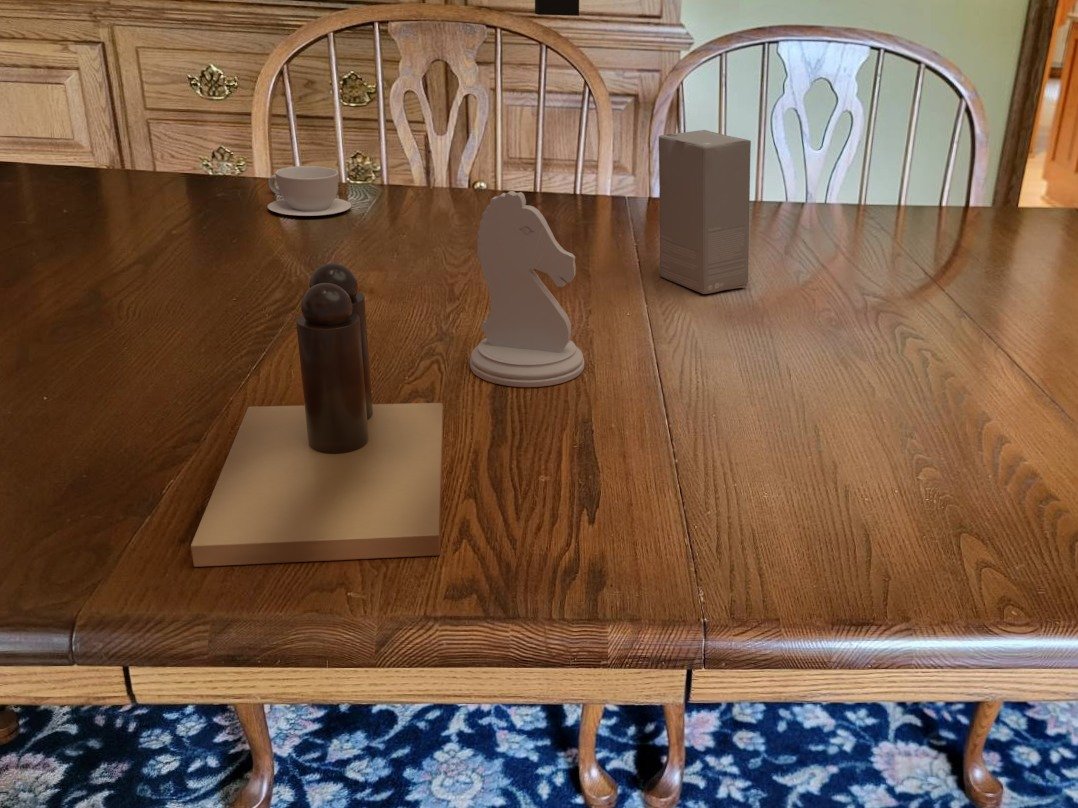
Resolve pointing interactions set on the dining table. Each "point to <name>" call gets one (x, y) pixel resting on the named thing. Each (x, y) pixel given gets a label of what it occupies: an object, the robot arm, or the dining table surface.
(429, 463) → the wooden stand with posts
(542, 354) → the chess piece
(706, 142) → the cosmetic box
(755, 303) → the dining table surface
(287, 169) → the teacup
